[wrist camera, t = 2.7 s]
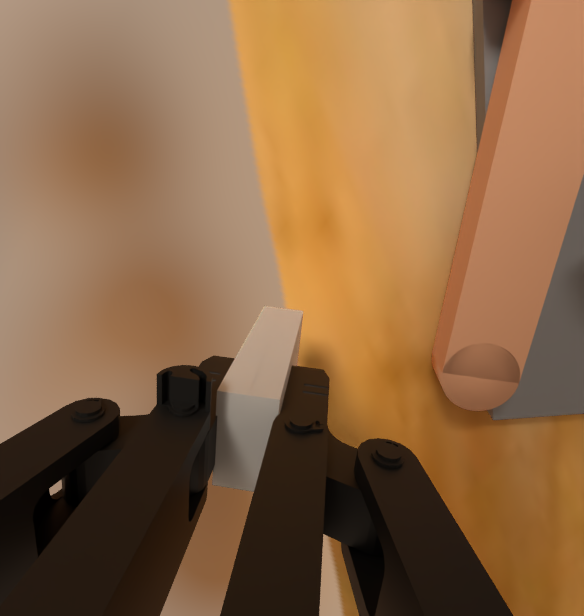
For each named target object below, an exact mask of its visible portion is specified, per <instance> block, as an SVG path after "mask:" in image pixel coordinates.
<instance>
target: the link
mask: <svg viewBox="0 0 584 616" xmlns="http://www.w3.org/2000/svg"><path fill="white" fill-rule="evenodd" d="M583 175H584V0H512V3H511V8H510V12H509V17H508V21H507V25H506V30H505V34H504V39H503V43H502V47H501V52H500V56H499V61H498V65H497V69H496V74H495V78H494V83H493V87H492V91H491V96H490V100H489V105H488V109H487V113H486V118H485V122H484V127H483V131H482V135H481V140H480V144H479V149H478V153H477V157H476V162H475V166H474V171H473V175H472V179H471V184H470V188H469V193H468V197H467V201H466V206H465V210H464V215H463V219H462V223H461V228H460V232H459V237H458V241H457V245H456V250H455V254H454V259H453V263H452V267H451V272H450V276H449V281H448V285H447V289H446V294H445V298H444V303H443V307H442V311H441V316H440V320H439V325H438V329H437V333H436V338H435V342H434V347H433V351H432V365H433V368H434V371H435V373H436V375H437V377H438V379H439V382H440V384H441V386H442V388H443V391H444V393H445V394H446V396H447V397H448V399H449V400H450V401H451V402H453V403H454V404H455V405H457V406H459V407H461V408H463V409H466V410H471V411H484V410H489V409H493V408H496V407H498V406H500V405H502V404H503V403H505V402H506V401H507V400H508V399H509V398H510V397H511V396H512V395H513V394H514V393H515V391H516V389H517V387H518V385H519V382H520V379H521V375H522V372H523V369H524V366H525V362H526V359H527V356H528V353H529V350H530V346H531V343H532V340H533V337H534V333H535V330H536V327H537V324H538V320H539V317H540V314H541V311H542V307H543V304H544V301H545V298H546V294H547V291H548V288H549V285H550V282H551V278H552V275H553V272H554V269H555V265H556V262H557V259H558V256H559V252H560V249H561V246H562V243H563V239H564V236H565V233H566V230H567V226H568V223H569V220H570V217H571V214H572V210H573V207H574V204H575V201H576V197H577V194H578V191H579V188H580V184H581V181H582V178H583Z"/></svg>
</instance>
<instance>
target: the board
mask: <svg viewBox="0 0 584 616" xmlns="http://www.w3.org/2000/svg"><path fill="white" fill-rule="evenodd" d="M511 3H512V0H473V30H474V62H475V95H476V128H477V153H478V149H479V144H480V140H481V135H482V131H483V127H484V122H485V118H486V113H487V109H488V105H489V100H490V96H491V91H492V87H493V83H494V78H495V74H496V69H497V65H498V61H499V56H500V52H501V47H502V43H503V39H504V34H505V30H506V25H507V21H508V17H509V12H510V8H511ZM487 411H488V413H489V414H490V416H491V418H492V419H493V420H503V419H517V418H530V417H544V416H558V415H571V414H584V175H583V178H582V181H581V184H580V188H579V191H578V194H577V197H576V201H575V204H574V207H573V210H572V214H571V217H570V220H569V223H568V226H567V230H566V233H565V236H564V239H563V243H562V246H561V249H560V252H559V256H558V259H557V262H556V265H555V269H554V272H553V275H552V278H551V282H550V285H549V288H548V291H547V294H546V298H545V301H544V304H543V307H542V311H541V314H540V317H539V320H538V324H537V327H536V330H535V333H534V337H533V340H532V343H531V346H530V350H529V353H528V356H527V359H526V362H525V366H524V369H523V372H522V375H521V379H520V382H519V385H518V387H517V389H516V391H515V393H514V394H513V395H512V396H511V397H510V398H509V399H508V400H507V401H506V402H505V403H503V404H502V405H500V406H498V407H496V408H493V409H489V410H487Z"/></svg>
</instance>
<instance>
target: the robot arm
mask: <svg viewBox="0 0 584 616" xmlns="http://www.w3.org/2000/svg"><path fill="white" fill-rule="evenodd" d="M302 318H303V311H300V310H292V309H284V308H276V307H269V306H264V308H263V309H262V311H261V313H260V315H259V316H258V318H257V320H256V322H255V324H254V326H253V327H252V329H251V331H250V332H249V334H248V336H247V338H246V340H245V341H244V343H243V345H242V347H241V349H240V350H239V352H238V354H237V356H236V357H235V359H234V358H227V357H219V356H212V357H210V358H208V359H206V360H204V361H202V363H201V364H200V365H199V367H196V366H190V365H181V366H173V367H169V368H166V369H164V370H162V371H160V372H159V373H158V374H157V405H156V406H155V408H154V409H153V410H152V411H151V413H150V414H148V415H137V416H120V408H119V407H118V405H117V404H116V403H115V402H113V401H111V400H108V399H102V398H87V399H83V400H79V401H75V402H73V403H71V404H69V405H66V406H65V407H63V408H61V409H60V410H58V411H56V412H54V413H53V414H51V415H49V416H47V417H46V418H44V419H43V420H41V421H39V422H37V423H35V424H34V425H32V426H30V427H28V428H27V429H25V430H23V431H22V432H20V433H18V434H16V435H15V436H13V437H11V438H10V439H8V440H6V441H5V442H3V443H1V444H0V616H160V614H161V611H162V608H163V606H164V604H165V601H166V599H167V596H168V594H169V591H170V589H171V586H172V584H173V581H174V579H175V576H176V574H177V571H178V569H179V566H180V564H181V561H182V559H183V557H184V554H185V552H186V549H187V547H188V544H189V541H190V539H191V537H192V534H193V532H194V529H195V527H196V524H197V522H198V519H199V517H200V514H201V512H202V509H203V507H204V504H205V502H206V498H207V485H208V480H209V477H210V475H211V473H212V470H213V480H212V485H216V486H222V487H228V488H234V489H240V490H246V491H253V492H254V494H253V497H252V501H251V504H250V508H249V512H248V515H247V519H246V523H245V526H244V530H243V534H242V537H241V541H240V545H239V548H238V552H237V556H236V559H235V563H234V567H233V571H232V574H231V578H230V581H229V585H228V589H227V592H226V596H225V600H224V604H223V607H222V611H221V614H220V616H319V605H320V586H321V566H322V565H321V564H322V546H323V534H325V535H327V536H329V537H331V538H333V539H336V540H338V541H340V542H341V547H342V554H343V557H344V561H345V565H346V568H347V572H348V576H349V579H350V583H351V587H352V590H353V594H354V598H355V601H356V605H357V609H358V612H359V616H513V614H512V613H511V611H510V609H509V608H508V606H507V604H506V603H505V601H504V600H503V598H502V596H501V595H500V593H499V591H498V590H497V588H496V586H495V585H494V583H493V582H492V580H491V578H490V577H489V575H488V573H487V572H486V570H485V568H484V567H483V565H482V564H481V562H480V560H479V559H478V557H477V555H476V554H475V552H474V550H473V549H472V547H471V546H470V544H469V542H468V541H467V539H466V537H465V536H464V534H463V532H462V531H461V529H460V528H459V526H458V524H457V523H456V521H455V519H454V518H453V516H452V514H451V513H450V511H449V510H448V508H447V506H446V505H445V503H444V501H443V500H442V498H441V496H440V495H439V493H438V492H437V490H436V488H435V487H434V485H433V483H432V482H431V480H430V478H429V477H428V475H427V474H426V472H425V470H424V469H423V467H422V465H421V464H420V462H419V460H418V459H417V457H416V456H415V455H414V454H413V453H412V452H411V450H410V449H408V448H406V447H405V446H403V445H402V444H400V443H397V442H395V441H392V440H388V439H379V438H377V439H369V440H367V441H365V442H363V443H361V444H360V446H359V448H358V449H357V448H354V447H351V446H349V445H347V444H344V443H342V442H341V441H339V440H338V439H336V438H335V437H334V436H333V435H332V434H331V433H330V431H329V429H328V426H327V414H328V395H329V377H328V376H327V374H326V373H325V371H324V370H322V369H314V368H307V367H300V366H297V362H298V353H299V345H300V336H301V327H302ZM61 479H62V489H61V490H60V491H58V492H57V493H55V494H53V495H52V496H50V493H49V488H50V487H52V486H53V485H54V484H56V483H57V482H58V481H59V480H61Z"/></svg>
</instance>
